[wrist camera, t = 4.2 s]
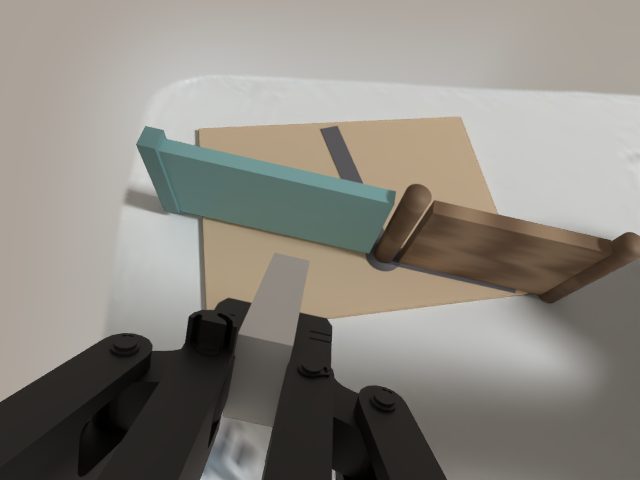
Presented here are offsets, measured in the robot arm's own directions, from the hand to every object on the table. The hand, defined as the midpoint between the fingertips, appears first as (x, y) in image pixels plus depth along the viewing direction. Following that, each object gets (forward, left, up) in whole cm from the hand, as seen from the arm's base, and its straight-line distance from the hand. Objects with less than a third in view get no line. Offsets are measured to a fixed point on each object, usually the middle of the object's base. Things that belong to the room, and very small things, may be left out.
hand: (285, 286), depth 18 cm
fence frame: (-19, +6, -20) cm, 28 cm away
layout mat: (-16, -6, -20) cm, 26 cm away
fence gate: (-8, -10, -19) cm, 23 cm away
